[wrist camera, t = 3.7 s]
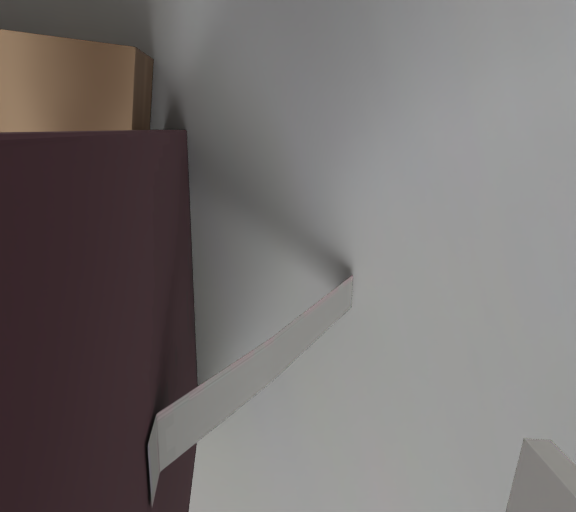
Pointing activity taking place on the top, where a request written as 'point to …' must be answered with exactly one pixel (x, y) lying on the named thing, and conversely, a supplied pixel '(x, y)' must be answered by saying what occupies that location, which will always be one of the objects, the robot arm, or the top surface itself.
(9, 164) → the picture frame
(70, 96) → the walnut ledge
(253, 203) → the top surface
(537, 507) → the robot arm
